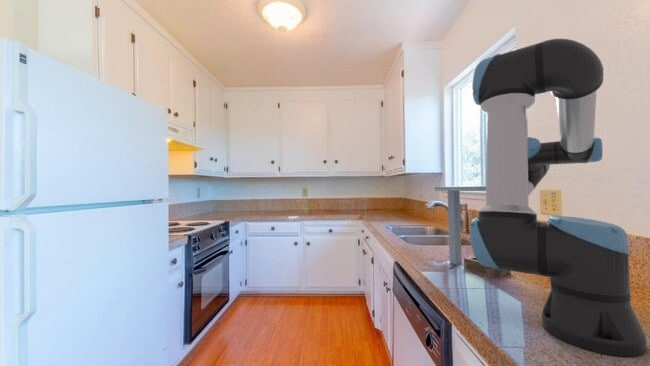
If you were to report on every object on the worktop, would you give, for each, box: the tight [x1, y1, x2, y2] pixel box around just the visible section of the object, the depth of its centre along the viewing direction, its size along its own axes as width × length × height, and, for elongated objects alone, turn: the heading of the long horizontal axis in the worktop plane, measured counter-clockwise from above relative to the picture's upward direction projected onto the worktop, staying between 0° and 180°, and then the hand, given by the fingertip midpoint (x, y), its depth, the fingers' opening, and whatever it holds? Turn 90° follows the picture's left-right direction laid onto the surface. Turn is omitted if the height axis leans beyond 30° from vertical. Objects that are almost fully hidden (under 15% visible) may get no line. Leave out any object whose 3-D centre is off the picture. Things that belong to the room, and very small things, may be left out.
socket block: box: [463, 256, 512, 278], centre depth 98 cm, size 10×10×4 cm
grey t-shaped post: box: [434, 185, 486, 265], centre depth 101 cm, size 12×19×30 cm, turn 22°
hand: (478, 240), depth 97 cm, fingers closed on supplement bottle, 5 cm apart
